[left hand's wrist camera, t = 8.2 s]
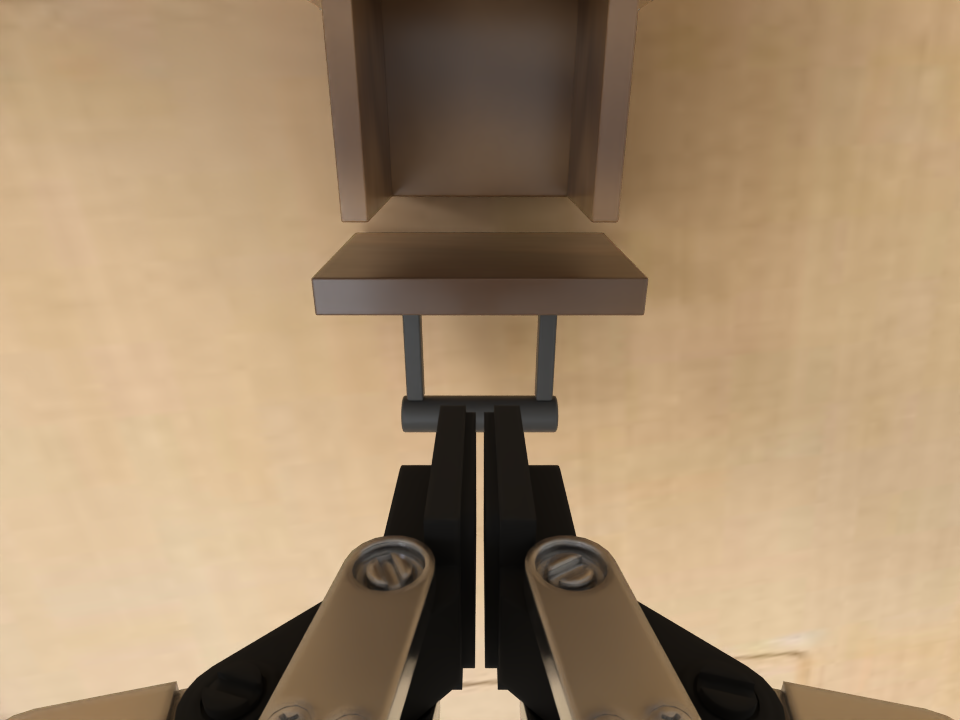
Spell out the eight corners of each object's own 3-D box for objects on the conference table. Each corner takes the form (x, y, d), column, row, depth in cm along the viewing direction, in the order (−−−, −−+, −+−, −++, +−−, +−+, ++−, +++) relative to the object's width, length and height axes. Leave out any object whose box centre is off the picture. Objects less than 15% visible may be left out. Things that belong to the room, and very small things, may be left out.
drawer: (591, 376, 26) (626, 460, 20) (367, 375, 26) (332, 460, 20) (660, -429, 16) (773, -762, 10) (299, -431, 16) (187, -764, 10)
